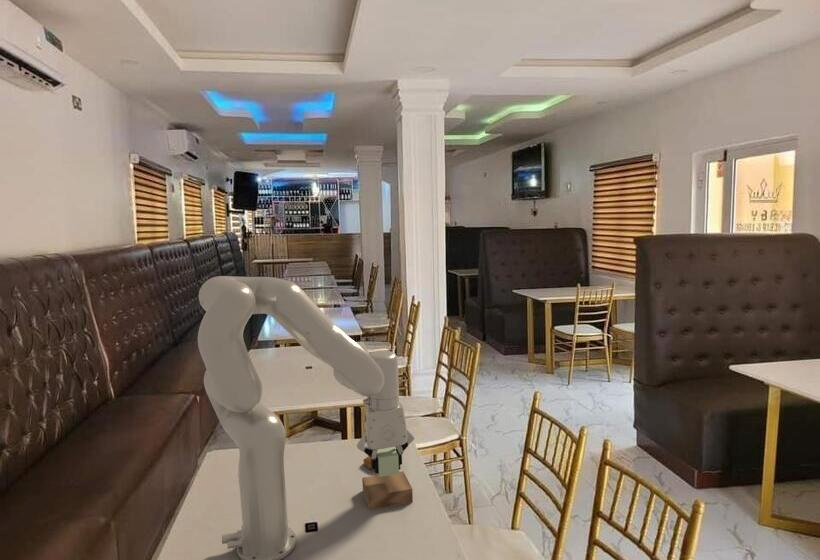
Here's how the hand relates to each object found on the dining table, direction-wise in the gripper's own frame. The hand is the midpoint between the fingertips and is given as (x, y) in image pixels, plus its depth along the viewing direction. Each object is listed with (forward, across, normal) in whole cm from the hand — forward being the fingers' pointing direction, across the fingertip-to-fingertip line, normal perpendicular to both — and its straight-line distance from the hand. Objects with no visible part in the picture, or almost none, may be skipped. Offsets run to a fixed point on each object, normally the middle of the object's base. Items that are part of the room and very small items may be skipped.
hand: (386, 468), depth 137 cm
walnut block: (+8, 0, 0) cm, 8 cm away
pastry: (+8, +2, +15) cm, 17 cm away
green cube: (+1, 0, 0) cm, 1 cm away
